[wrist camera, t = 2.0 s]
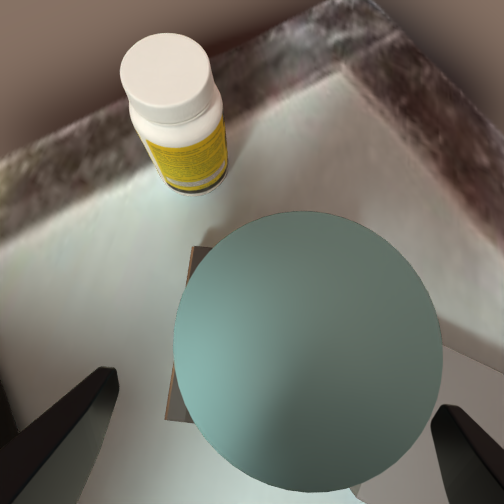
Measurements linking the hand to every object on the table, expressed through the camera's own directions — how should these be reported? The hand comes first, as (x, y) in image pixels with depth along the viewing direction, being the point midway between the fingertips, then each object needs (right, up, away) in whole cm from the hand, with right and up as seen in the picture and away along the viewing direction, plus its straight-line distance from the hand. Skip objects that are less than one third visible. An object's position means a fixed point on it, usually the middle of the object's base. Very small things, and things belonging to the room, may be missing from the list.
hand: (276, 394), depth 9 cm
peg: (0, -1, +9) cm, 9 cm away
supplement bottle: (-5, +10, +14) cm, 17 cm away
